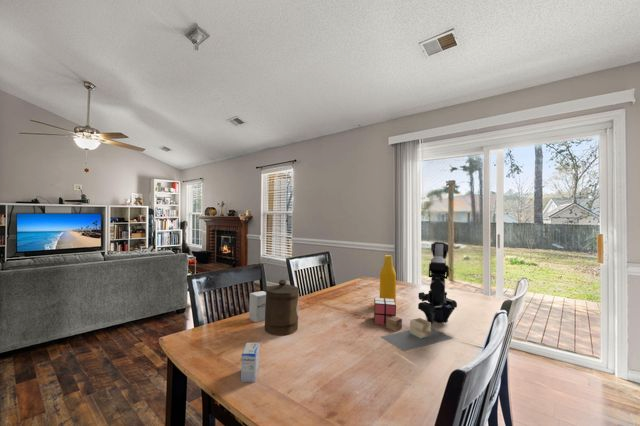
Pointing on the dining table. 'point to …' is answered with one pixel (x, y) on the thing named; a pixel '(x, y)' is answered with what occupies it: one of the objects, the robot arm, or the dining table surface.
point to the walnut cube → (394, 323)
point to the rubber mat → (414, 339)
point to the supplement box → (257, 306)
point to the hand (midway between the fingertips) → (437, 324)
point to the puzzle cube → (383, 309)
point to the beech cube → (420, 328)
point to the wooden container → (281, 309)
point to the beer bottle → (388, 279)
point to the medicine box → (250, 362)
